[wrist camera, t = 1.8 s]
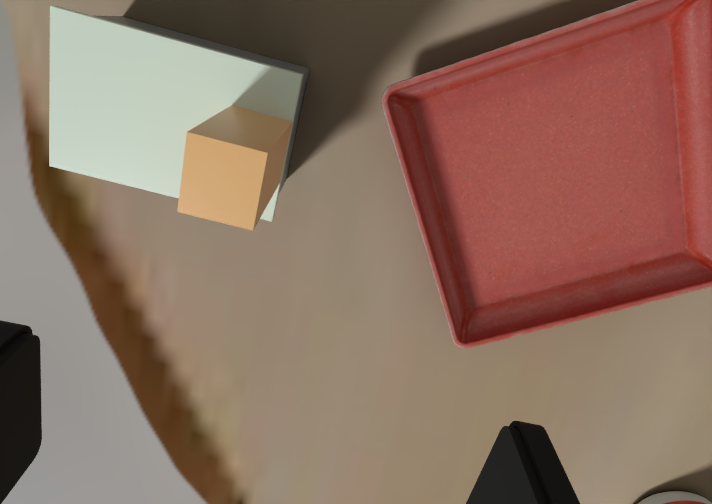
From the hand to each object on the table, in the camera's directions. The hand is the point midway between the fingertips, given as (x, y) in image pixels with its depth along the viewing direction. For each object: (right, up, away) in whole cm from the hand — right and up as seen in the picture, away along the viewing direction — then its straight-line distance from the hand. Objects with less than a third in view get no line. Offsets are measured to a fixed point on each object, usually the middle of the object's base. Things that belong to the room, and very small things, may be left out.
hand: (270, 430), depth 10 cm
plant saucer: (+14, +9, +22) cm, 28 cm away
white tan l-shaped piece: (-7, +10, +15) cm, 20 cm away
